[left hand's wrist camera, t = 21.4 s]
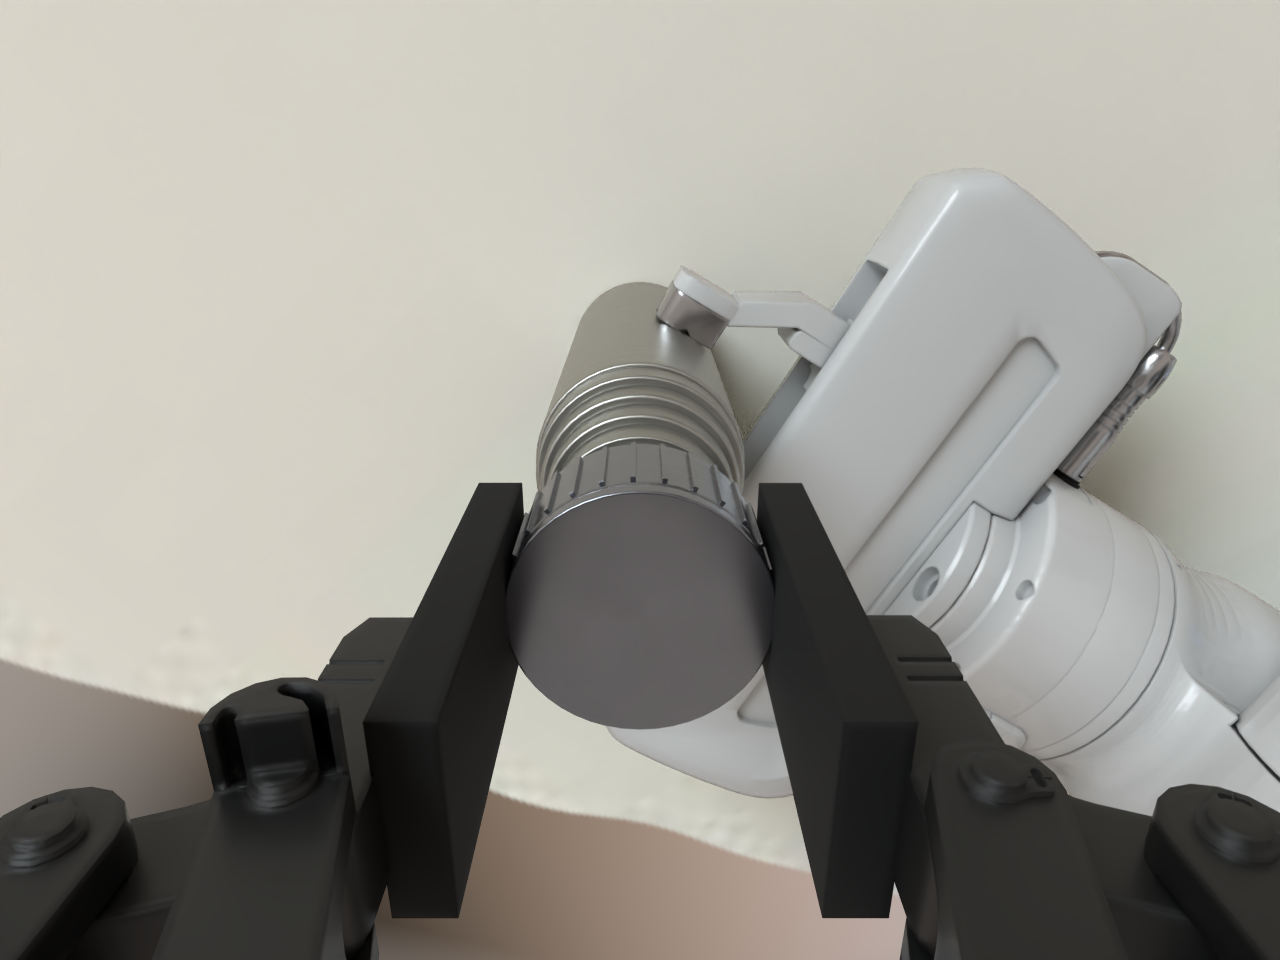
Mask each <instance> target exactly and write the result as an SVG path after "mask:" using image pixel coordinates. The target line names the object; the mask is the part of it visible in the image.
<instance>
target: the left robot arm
mask: <svg viewBox="0 0 1280 960" xmlns="http://www.w3.org/2000/svg"><path fill="white" fill-rule="evenodd" d="M523 517H524V509H523V491H522V483H479V484H478V486H477V488H476V490H475V492H474V494H473V496H472V498H471V500H470V502H469V504H468V507H467V509H466V511H465V513H464V515H463V517H462V519H461V521H460V523H459V525H458V527H457V529H456V531H455V533H454V535H453V537H452V539H451V541H450V543H449V546H448V548H447V550H446V552H445V554H444V556H443V558H442V560H441V562H440V564H439V566H438V568H437V570H436V572H435V574H434V576H433V578H432V580H431V582H430V585H429V587H428V589H427V591H426V593H425V595H424V597H423V599H422V601H421V603H420V605H419V607H418V609H417V611H416V613H415V615H414V617H413V618H369V619H367V620H366V621H365V622H363V623H362V624H361V625H359V626H358V627H357V628H355V629H354V630H353V631H351V632H350V633H349V634H347V635H346V636H344V637H343V639H342V641H341V642H340V644H339V645H338V647H337V649H336V650H335V652H334V654H333V655H332V657H331V659H330V663H329V664H327V665H326V667H325V668H324V670H323V672H322V673H321V675H320V676H319V678H318V681H317V680H313V679H310V678H278V679H274V680H269V681H265V682H260V683H256V684H253V685H251V686H249V687H246V688H244V689H241V690H239V691H237V692H234V693H232V694H230V695H229V696H227V697H226V698H225V699H223V700H222V701H220V702H219V703H217V704H216V705H215V706H213V707H212V708H210V710H209V711H208V712H207V714H206V715H205V716H204V718H203V719H202V720H201V722H200V723H199V724H198V726H199V730H200V735H201V739H202V743H203V747H204V751H205V755H206V759H207V763H208V768H209V772H210V776H211V780H212V784H213V789H214V793H213V796H212V798H211V799H210V800H207V801H204V802H201V803H197V804H194V805H190V806H187V807H183V808H178V809H174V810H170V811H166V812H161V813H157V814H152V815H148V816H143V817H139V818H134V819H130V818H129V815H128V811H127V808H126V805H125V802H124V801H123V800H122V799H121V798H120V797H119V796H118V795H117V794H116V793H114V792H113V791H110V790H105V789H100V788H95V787H86V788H77V789H67V790H62V791H59V792H56V793H53V794H50V795H46V796H43V797H40V798H37V799H34V800H32V801H30V802H28V803H26V804H24V805H22V806H21V807H19V808H17V809H15V810H13V811H11V812H9V813H7V814H5V815H3V816H2V817H1V818H0V960H378V958H379V950H378V943H377V936H376V930H375V924H374V920H375V917H376V914H377V911H378V909H379V906H380V903H381V900H382V897H383V894H384V891H385V888H386V885H387V888H388V894H389V901H390V907H391V914H392V918H459V913H460V909H461V905H462V901H463V897H464V892H465V888H466V884H467V880H468V875H469V871H470V867H471V863H472V859H473V854H474V850H475V846H476V842H477V838H478V833H479V829H480V825H481V821H482V816H483V812H484V808H485V804H486V799H487V795H488V791H489V787H490V783H491V778H492V774H493V770H494V766H495V762H496V757H497V753H498V749H499V745H500V740H501V736H502V732H503V728H504V724H505V719H506V715H507V711H508V707H509V702H510V698H511V694H512V690H513V686H514V681H515V677H516V673H517V669H518V663H517V661H516V659H515V657H514V655H513V653H512V650H511V648H510V646H509V637H508V623H507V608H506V584H507V580H508V577H509V574H510V571H511V567H512V564H513V561H514V559H511V555H512V552H513V548H514V545H515V542H516V539H517V536H518V533H519V530H520V527H521V524H522V520H523ZM757 523H758V526H759V529H760V532H761V535H762V539H763V542H764V545H765V549H766V552H767V555H768V558H769V561H770V565H771V568H772V574H771V575H772V579H773V582H774V585H775V607H774V621H773V636H772V644H771V647H770V650H769V652H768V654H767V656H766V658H765V660H764V662H763V664H762V665H763V669H764V674H765V678H766V682H767V686H768V690H769V695H770V699H771V703H772V707H773V712H774V716H775V720H776V724H777V728H778V733H779V737H780V741H781V745H782V750H783V754H784V758H785V762H786V766H787V771H788V775H789V779H790V783H791V788H792V792H793V796H794V800H795V804H796V809H797V813H798V817H799V821H800V825H801V830H802V834H803V838H804V842H805V847H806V851H807V855H808V859H809V863H810V868H811V872H812V876H813V880H814V884H815V889H816V893H817V897H818V901H819V906H820V910H821V914H822V918H889V913H890V907H891V900H892V894H893V887H894V882H895V885H896V888H897V890H898V893H899V896H900V899H901V902H902V905H903V908H904V910H905V913H906V916H907V918H906V924H905V930H904V937H903V943H902V949H901V955H900V960H1280V813H1279V812H1278V811H1276V810H1274V809H1272V808H1270V807H1268V806H1266V805H1264V804H1262V803H1261V802H1259V801H1257V800H1255V799H1253V798H1251V797H1249V796H1246V795H1243V794H1240V793H1237V792H1234V791H1231V790H1227V789H1224V788H1221V787H1217V786H1208V785H1199V784H1186V785H1181V786H1175V787H1170V788H1169V789H1167V790H1166V791H1165V792H1164V793H1163V794H1162V795H1161V796H1159V797H1158V798H1157V802H1156V805H1155V808H1154V812H1153V815H1152V816H1148V815H1144V814H1139V813H1135V812H1130V811H1126V810H1122V809H1117V808H1113V807H1108V806H1104V805H1099V804H1095V803H1092V802H1088V801H1085V800H1082V799H1078V798H1075V797H1072V796H1070V795H1068V794H1067V792H1066V790H1065V788H1064V786H1063V785H1062V783H1061V782H1060V780H1059V779H1058V777H1057V776H1056V774H1055V773H1054V772H1053V771H1052V770H1051V769H1049V768H1048V767H1047V766H1046V765H1044V764H1043V763H1042V762H1041V761H1039V760H1038V759H1037V758H1036V757H1034V756H1032V755H1030V754H1028V753H1026V752H1023V751H1021V750H1019V749H1017V748H1015V747H1013V746H1011V745H1006V744H1005V743H1004V741H1003V740H1002V738H1001V736H1000V735H999V733H998V732H997V730H996V728H995V727H994V725H993V723H992V722H991V720H990V719H989V717H988V715H987V714H986V712H985V710H984V709H983V707H982V706H981V704H980V702H979V701H978V699H977V697H976V696H975V694H974V693H973V691H972V689H971V688H970V686H969V684H968V683H967V681H964V680H963V675H962V673H961V672H960V670H959V668H958V667H957V665H956V663H955V662H952V657H951V655H950V654H949V652H948V650H947V649H946V647H945V646H944V644H943V642H942V641H941V639H940V637H939V636H938V634H936V633H935V632H934V631H932V630H931V629H929V628H928V627H927V626H925V625H924V624H923V623H921V622H920V621H919V620H917V619H916V618H915V617H913V616H912V615H866V613H865V611H864V609H863V607H862V605H861V603H860V601H859V599H858V597H857V595H856V593H855V591H854V589H853V587H852V585H851V583H850V581H849V578H848V576H847V574H846V572H845V570H844V568H843V566H842V564H841V562H840V560H839V558H838V556H837V554H836V552H835V550H834V548H833V546H832V544H831V542H830V540H829V537H828V535H827V533H826V531H825V529H824V527H823V525H822V523H821V521H820V519H819V517H818V515H817V513H816V511H815V509H814V507H813V505H812V503H811V501H810V499H809V496H808V494H807V492H806V490H805V488H804V486H803V484H802V483H759V489H758V507H757Z"/></svg>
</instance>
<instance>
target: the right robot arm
mask: <svg viewBox="0 0 1280 960" xmlns="http://www.w3.org/2000/svg"><path fill="white" fill-rule="evenodd" d="M1181 306H1182V303H1181V301H1180V299H1179V297H1178V295H1177V294H1176V292H1175V291H1174V290H1173V289H1172V288H1171V286H1170V285H1169V284H1168V283H1167V282H1166V281H1165V280H1163V279H1162V278H1160V277H1159V276H1157V275H1156V274H1154V273H1153V272H1152V271H1150V270H1149V269H1147V268H1146V267H1144V266H1143V265H1141V264H1140V263H1139V262H1137V261H1136V260H1134V259H1133V258H1131V257H1129V256H1127V255H1125V254H1122V253H1118V252H1113V251H1098V252H1095V251H1094V250H1093V249H1092V248H1091V247H1090V246H1089V245H1088V244H1087V243H1086V242H1085V241H1083V240H1082V239H1081V238H1080V237H1079V236H1078V235H1077V234H1076V233H1075V232H1074V231H1073V230H1072V229H1071V228H1070V227H1069V226H1068V225H1067V224H1066V223H1064V222H1063V221H1062V220H1061V219H1060V218H1059V217H1058V216H1057V215H1055V214H1054V213H1053V212H1052V211H1051V210H1050V209H1048V208H1047V207H1046V206H1045V205H1044V204H1043V203H1041V202H1040V201H1039V200H1037V199H1036V198H1035V197H1034V196H1032V195H1031V194H1030V193H1029V192H1027V191H1026V190H1025V189H1023V188H1022V187H1021V186H1019V185H1018V184H1017V183H1015V182H1014V181H1012V180H1011V179H1009V178H1008V177H1006V176H1004V175H1002V174H1000V173H997V172H994V171H991V170H986V169H981V168H960V169H953V170H948V171H943V172H939V173H935V174H930V175H927V176H924V177H922V178H921V179H919V180H918V181H917V182H916V183H915V184H914V186H913V187H912V188H911V190H910V191H909V193H908V194H907V196H906V197H905V199H904V200H903V202H902V203H901V205H900V206H899V208H898V209H897V211H896V212H895V214H894V215H893V217H892V218H891V220H890V221H889V223H888V224H887V226H886V227H885V229H884V230H883V232H882V233H881V235H880V236H879V238H878V239H877V241H876V242H875V244H874V245H873V247H872V248H871V250H870V251H869V253H868V254H867V256H866V257H865V259H864V260H863V262H862V263H861V265H860V266H859V268H858V269H857V271H856V272H855V274H854V275H853V277H852V278H851V280H850V281H849V283H848V284H847V286H846V287H845V289H844V290H843V292H842V293H841V295H840V296H839V297H838V299H837V300H836V302H835V303H834V305H833V306H832V308H831V309H828V308H826V307H825V306H823V305H821V304H820V303H818V302H817V301H815V300H813V299H812V298H810V297H808V296H807V295H805V294H803V293H802V292H800V291H793V292H735V293H734V294H733V295H732V294H730V293H728V292H727V291H725V290H723V289H722V288H720V287H718V286H717V285H715V284H714V283H712V282H710V281H709V280H707V279H705V278H704V277H702V276H700V275H699V274H697V273H695V272H694V271H692V270H690V269H688V268H686V267H683V266H681V267H680V269H679V270H678V272H677V274H676V275H675V277H674V279H673V281H672V282H671V284H670V286H669V287H668V289H667V291H666V293H665V294H664V296H663V298H662V300H661V302H660V303H659V305H658V307H657V309H656V311H657V313H656V316H657V317H658V318H659V319H660V320H662V321H663V322H665V323H666V324H668V325H669V326H671V327H673V328H676V329H678V330H685V329H687V331H688V333H689V335H690V337H691V338H693V339H694V340H695V341H696V342H698V343H700V344H701V345H703V346H705V347H706V348H708V349H710V350H711V349H712V347H713V345H714V344H715V342H716V341H717V339H718V338H719V336H720V335H721V333H722V332H723V330H724V329H725V327H726V326H727V325H728V327H772V328H778V334H779V335H780V337H781V338H782V339H783V340H784V342H785V343H786V344H787V345H788V347H789V348H790V349H791V350H793V351H794V352H796V353H797V354H799V355H800V356H799V357H798V359H797V360H796V362H795V363H794V365H793V366H792V368H791V369H790V371H789V372H788V374H787V375H786V377H785V378H784V380H783V381H782V383H781V384H780V386H779V387H778V389H777V390H776V392H775V393H774V395H773V396H772V398H771V399H770V401H769V402H768V404H767V405H766V407H765V408H764V410H763V411H762V413H761V414H760V416H759V417H758V419H757V420H756V422H755V423H754V425H753V426H752V428H751V429H750V431H749V432H748V434H747V435H746V437H745V438H744V440H743V448H744V466H745V477H744V486H743V492H742V496H743V498H744V499H745V501H746V502H747V503H749V502H750V503H751V505H752V507H753V510H754V513H755V517H756V520H757V507H758V489H759V483H802V484H803V486H804V488H805V490H806V492H807V494H808V496H809V499H810V501H811V503H812V505H813V507H814V509H815V511H816V513H817V515H818V517H819V519H820V521H821V523H822V525H823V527H824V529H825V531H826V533H827V535H828V537H829V540H830V542H831V544H832V546H833V548H834V550H835V552H836V554H837V556H838V558H839V560H840V562H841V564H842V566H843V568H844V570H845V572H846V574H847V576H848V578H849V581H850V583H851V585H852V587H853V589H854V591H855V593H856V595H857V597H858V599H859V601H860V603H861V605H862V607H863V609H864V611H865V613H866V615H912V616H913V617H915V618H916V619H917V620H919V621H920V622H921V623H923V624H924V625H925V626H927V627H928V628H929V629H931V630H932V631H934V632H935V633H936V634H938V636H939V637H940V639H941V641H942V642H943V644H944V646H945V647H946V649H947V650H948V652H949V654H950V655H951V657H952V662H955V663H956V665H957V667H958V668H959V670H960V672H961V673H962V675H963V680H964V681H967V683H968V684H969V686H970V688H971V689H972V691H973V693H974V694H975V696H976V697H977V699H978V701H979V702H980V704H981V706H982V707H983V709H984V710H985V712H986V714H987V715H988V717H989V719H990V720H991V722H992V723H993V725H994V727H995V728H996V730H997V732H998V733H999V735H1000V736H1001V738H1002V740H1003V741H1004V743H1005V744H1006V745H1011V746H1013V747H1015V748H1017V749H1019V750H1021V751H1023V752H1026V753H1028V754H1030V755H1032V756H1034V757H1036V758H1037V759H1038V760H1039V761H1041V762H1042V763H1043V764H1044V765H1046V766H1047V767H1048V768H1049V769H1051V770H1052V771H1053V772H1054V773H1055V774H1056V776H1057V777H1058V779H1059V780H1060V782H1061V783H1062V785H1063V786H1064V787H1065V788H1066V789H1067V790H1068V791H1069V793H1070V795H1071V796H1072V797H1075V798H1078V799H1082V800H1085V801H1088V802H1092V803H1095V804H1099V805H1104V806H1108V807H1113V808H1117V809H1122V810H1126V811H1130V812H1135V813H1139V814H1144V815H1148V816H1152V815H1153V812H1154V808H1155V805H1156V802H1157V798H1158V797H1159V796H1161V795H1162V794H1163V793H1164V792H1165V791H1166V790H1167V789H1169V788H1170V787H1175V786H1181V785H1186V784H1199V785H1208V786H1217V787H1221V788H1224V789H1227V790H1231V791H1234V792H1237V793H1240V794H1243V795H1246V796H1249V797H1251V798H1253V799H1255V800H1257V801H1259V802H1261V803H1262V804H1264V805H1266V806H1268V807H1270V808H1272V809H1274V810H1276V811H1278V812H1279V813H1280V611H1279V610H1277V609H1276V608H1274V607H1273V606H1271V605H1270V604H1268V603H1266V602H1265V601H1263V600H1262V599H1260V598H1259V597H1257V596H1256V595H1254V594H1252V593H1251V592H1249V591H1247V590H1246V589H1244V588H1242V587H1240V586H1239V585H1237V584H1235V583H1233V582H1231V581H1229V580H1227V579H1224V578H1221V577H1219V576H1216V575H1213V574H1210V573H1206V572H1202V571H1197V570H1193V569H1188V568H1186V567H1184V566H1183V565H1182V564H1181V563H1180V561H1179V560H1178V559H1177V557H1176V556H1175V555H1174V553H1173V552H1172V551H1171V550H1170V549H1169V548H1168V546H1167V545H1166V544H1165V543H1163V542H1162V541H1161V540H1160V539H1159V538H1158V537H1157V536H1156V535H1154V534H1153V533H1152V532H1151V531H1149V530H1147V529H1146V528H1144V527H1143V526H1141V525H1140V524H1138V523H1136V522H1134V521H1133V520H1131V519H1130V518H1128V517H1127V516H1125V515H1123V514H1122V513H1120V512H1118V511H1117V510H1115V509H1113V508H1112V507H1110V506H1109V505H1107V504H1105V503H1104V502H1102V501H1100V500H1099V499H1097V498H1096V497H1094V496H1092V495H1091V494H1089V493H1087V492H1086V491H1084V490H1083V489H1081V488H1080V486H1079V485H1078V484H1079V483H1080V482H1081V481H1082V479H1083V478H1084V477H1085V476H1086V475H1087V473H1088V472H1089V471H1090V470H1091V469H1092V468H1093V466H1094V465H1095V464H1096V463H1097V462H1098V460H1099V459H1100V458H1101V457H1102V456H1103V454H1104V453H1105V452H1106V451H1107V450H1108V449H1109V447H1110V446H1111V445H1112V443H1113V442H1114V441H1115V439H1116V438H1117V434H1119V433H1120V432H1121V430H1122V429H1123V427H1122V426H1123V425H1125V424H1126V423H1127V421H1128V418H1130V417H1131V416H1132V415H1133V413H1134V410H1137V409H1138V407H1139V406H1140V405H1141V404H1142V403H1143V402H1144V400H1145V399H1146V398H1147V399H1149V398H1150V397H1151V396H1152V395H1153V394H1155V393H1156V391H1157V390H1158V389H1159V388H1160V387H1161V386H1162V384H1163V383H1164V382H1165V381H1166V379H1167V378H1168V376H1169V375H1170V373H1171V371H1172V370H1173V368H1174V366H1175V364H1176V362H1177V359H1176V358H1175V357H1174V356H1173V355H1171V354H1170V352H1171V351H1172V349H1173V347H1174V345H1175V343H1176V341H1177V339H1178V336H1179V332H1180V327H1181V321H1182V319H1181ZM1161 335H1162V336H1161ZM1160 336H1161V338H1160ZM1159 338H1160V340H1159V342H1158V345H1157V346H1155V345H1154V344H1155V343H1156V341H1157V340H1158V339H1159ZM606 727H607V729H608V731H609V733H610V734H611V735H612V736H613V737H614V738H615V739H616V740H617V741H619V742H620V743H622V744H623V745H625V746H627V747H628V748H630V749H632V750H634V751H636V752H638V753H640V754H642V755H644V756H646V757H648V758H650V759H653V760H655V761H657V762H659V763H661V764H664V765H666V766H668V767H671V768H673V769H675V770H677V771H680V772H682V773H685V774H687V775H690V776H692V777H695V778H697V779H700V780H702V781H705V782H707V783H710V784H713V785H716V786H718V787H721V788H724V789H727V790H730V791H733V792H736V793H739V794H743V795H747V796H752V797H759V798H781V797H786V796H791V795H793V792H792V788H791V783H790V779H789V775H788V771H787V766H786V762H785V758H784V754H783V750H782V745H781V741H780V737H779V733H778V728H777V724H776V720H775V716H774V712H773V707H772V703H771V699H770V695H769V690H768V686H767V682H766V678H765V674H764V669H763V665H761V667H760V669H759V670H758V672H757V673H756V675H755V676H754V677H753V678H752V680H751V681H750V682H749V683H748V684H747V685H746V687H745V688H744V689H743V690H741V691H740V692H739V693H738V694H737V695H736V696H735V697H734V698H733V699H731V700H730V701H728V702H727V703H725V704H724V705H723V706H721V707H720V708H718V709H716V710H714V711H712V712H710V713H709V714H707V715H705V716H702V717H700V718H697V719H695V720H692V721H690V722H686V723H683V724H679V725H675V726H671V727H664V728H658V729H642V730H638V729H622V728H616V727H610V726H606Z"/></svg>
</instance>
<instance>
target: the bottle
mask: <svg viewBox="0 0 1280 960" xmlns="http://www.w3.org/2000/svg"><path fill="white" fill-rule="evenodd" d="M667 289H668V288H666V287H663V286H661V285H657V284H653V283H645V282H636V283H628V284H623V285H620V286H617V287H615V288H613V289H610V290H608V291H607V292H605V293H604V294H602V295H601V296H600V297H598V298H597V299H596V300H595V301H594V302H593V303H592V304H591V305H590V306H589V308H588V309H587V310H586V312H585V313H584V315H583V317H582V319H581V321H580V323H579V326H578V329H577V332H576V334H575V337H574V340H573V343H572V346H571V348H570V351H569V354H568V357H567V359H566V362H565V365H564V368H563V371H562V373H561V376H560V379H559V382H558V385H557V387H556V390H555V393H554V396H553V398H552V401H551V404H550V407H549V410H548V412H547V415H546V418H545V421H544V424H543V426H542V429H541V432H540V435H539V440H538V445H537V454H536V481H537V489H538V490H539V491H542V490H543V488H544V487H545V486H546V485H547V484H548V483H549V482H550V481H551V480H552V479H553V475H554V473H555V472H556V471H558V472H559V473H560V472H561V471H562V470H563V469H564V468H566V467H567V466H569V465H570V464H572V463H574V462H575V461H576V458H577V457H579V456H581V457H582V458H583V457H585V456H587V455H589V454H591V453H594V452H597V451H600V450H603V447H604V446H608V448H610V447H614V446H621V445H630V444H631V442H636V444H650V445H652V444H653V445H660V443H662V444H665V447H670V448H675V449H678V450H681V451H684V452H688V451H691V452H693V455H694V456H696V457H698V458H700V459H702V460H704V461H706V462H707V463H709V464H710V465H712V464H713V463H714V464H715V465H717V468H718V470H719V471H720V472H721V473H722V474H723V475H725V476H726V477H727V478H728V479H729V480H730V481H731V482H734V481H735V482H736V483H737V485H738V489H739V492H740V493H741V495H742V492H743V486H744V477H745V466H744V448H743V441H742V437H741V434H740V430H739V427H738V424H737V421H736V419H735V416H734V413H733V410H732V407H731V405H730V402H729V399H728V396H727V394H726V391H725V388H724V385H723V382H722V380H721V377H720V374H719V371H718V368H717V366H716V363H715V360H714V357H713V355H712V352H711V350H710V349H708V348H706V347H705V346H703V345H701V344H700V343H698V342H696V341H695V340H694V339H693V338H691V337H690V335H689V333H688V331H687V329H685V330H678V329H676V328H673V327H671V326H669V325H668V324H666V323H665V322H663V321H662V320H660V319H659V318H658V317H657V316H656V313H657V311H656V309H657V307H658V305H659V303H660V302H661V300H662V298H663V296H664V294H665V293H666V291H667Z"/></svg>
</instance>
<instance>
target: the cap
mask: <svg viewBox="0 0 1280 960" xmlns="http://www.w3.org/2000/svg"><path fill="white" fill-rule="evenodd" d="M511 559H514V561H513V564H512V567H511V571H510V574H509V577H508V580H507V584H506V608H507V623H508V637H509V646H510V648H511V650H512V653H513V655H514V657H515V659H516V661H517V663H518V664H519V666H520V668H521V669H522V671H523V672H524V674H525V675H526V676H527V678H528V679H529V680H530V681H531V682H532V684H533V685H534V686H535V687H536V688H537V689H538V690H539V691H540V692H541V693H543V694H544V695H545V696H546V697H547V698H548V699H550V700H551V701H552V702H554V703H555V704H557V705H558V706H559V707H561V708H563V709H565V710H566V711H568V712H570V713H572V714H574V715H576V716H578V717H581V718H583V719H586V720H588V721H591V722H594V723H598V724H601V725H605V726H610V727H616V728H622V729H638V730H642V729H658V728H664V727H671V726H675V725H679V724H683V723H686V722H690V721H692V720H695V719H697V718H700V717H702V716H705V715H707V714H709V713H710V712H712V711H714V710H716V709H718V708H720V707H721V706H723V705H724V704H725V703H727V702H728V701H730V700H731V699H733V698H734V697H735V696H736V695H737V694H738V693H739V692H740V691H741V690H743V689H744V688H745V687H746V685H747V684H748V683H749V682H750V681H751V680H752V678H753V677H754V676H755V675H756V673H757V672H758V670H759V669H760V667H761V665H762V664H763V662H764V660H765V658H766V656H767V654H768V652H769V650H770V647H771V644H772V636H773V621H774V607H775V585H774V582H773V579H772V575H771V574H772V568H771V565H770V561H769V558H768V555H767V552H766V549H765V545H764V542H763V539H762V535H761V532H760V529H759V526H758V523H757V520H756V517H755V513H754V510H753V507H752V505H751V503H750V502H749V503H747V502H746V501H745V499H744V498H743V496H742V495H741V493H740V492H739V489H738V485H737V483H736V482H735V481H734V482H731V481H730V480H729V479H728V478H727V477H726V476H725V475H723V474H722V473H721V472H720V471H719V470H718V468H717V465H715V464H714V463H713V464H712V465H710V464H709V463H707V462H706V461H704V460H702V459H700V458H698V457H696V456H694V455H693V452H691V451H688V452H684V451H681V450H678V449H675V448H670V447H665V444H662V443H660V445H653V444H652V445H650V444H636V442H631V444H630V445H621V446H614V447H610V448H608V446H604V447H603V450H600V451H597V452H594V453H591V454H589V455H587V456H585V457H583V458H582V457H581V456H579V457H577V458H576V461H575V462H574V463H572V464H570V465H569V466H567V467H566V468H564V469H563V470H562V471H561V472H560V473H559V472H558V471H556V472H555V473H554V475H553V479H552V480H551V481H550V482H549V483H548V484H547V485H546V486H545V487H544V488H543V490H542V491H539V490H538V491H537V493H536V495H535V499H534V502H533V505H532V508H531V510H530V512H529V514H528V513H525V515H524V517H523V520H522V524H521V527H520V530H519V533H518V536H517V539H516V542H515V545H514V548H513V552H512V555H511Z"/></svg>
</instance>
